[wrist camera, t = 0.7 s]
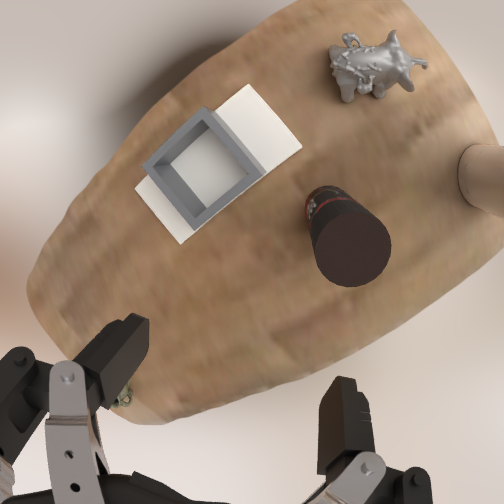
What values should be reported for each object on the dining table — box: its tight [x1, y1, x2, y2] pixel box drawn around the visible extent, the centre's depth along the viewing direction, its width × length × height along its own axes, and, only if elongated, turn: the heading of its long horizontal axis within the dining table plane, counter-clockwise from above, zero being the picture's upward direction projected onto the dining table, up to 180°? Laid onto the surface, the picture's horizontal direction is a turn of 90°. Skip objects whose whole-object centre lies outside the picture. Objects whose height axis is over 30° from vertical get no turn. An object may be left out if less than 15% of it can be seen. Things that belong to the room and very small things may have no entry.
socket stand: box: [135, 84, 303, 245], centre depth 31 cm, size 20×10×6 cm, turn 129°
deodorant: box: [305, 186, 391, 287], centre depth 27 cm, size 6×6×15 cm
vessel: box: [111, 381, 133, 408], centre depth 48 cm, size 12×9×6 cm
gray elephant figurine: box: [329, 30, 428, 103], centre depth 23 cm, size 9×12×8 cm
